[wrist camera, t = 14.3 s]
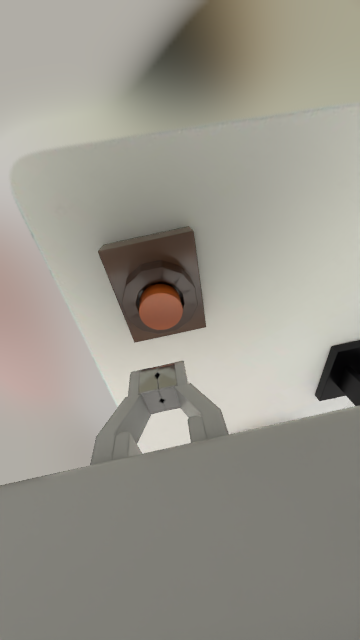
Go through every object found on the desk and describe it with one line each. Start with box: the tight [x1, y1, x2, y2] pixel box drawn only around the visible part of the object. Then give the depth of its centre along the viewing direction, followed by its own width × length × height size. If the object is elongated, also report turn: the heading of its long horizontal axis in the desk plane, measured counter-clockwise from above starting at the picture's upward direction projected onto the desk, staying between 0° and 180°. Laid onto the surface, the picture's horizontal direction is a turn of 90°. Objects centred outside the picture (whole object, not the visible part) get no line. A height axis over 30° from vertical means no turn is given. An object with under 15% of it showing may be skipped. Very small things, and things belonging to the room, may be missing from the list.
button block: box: [98, 226, 206, 342], centre depth 20 cm, size 10×8×4 cm
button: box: [139, 284, 183, 330], centre depth 17 cm, size 4×4×2 cm
